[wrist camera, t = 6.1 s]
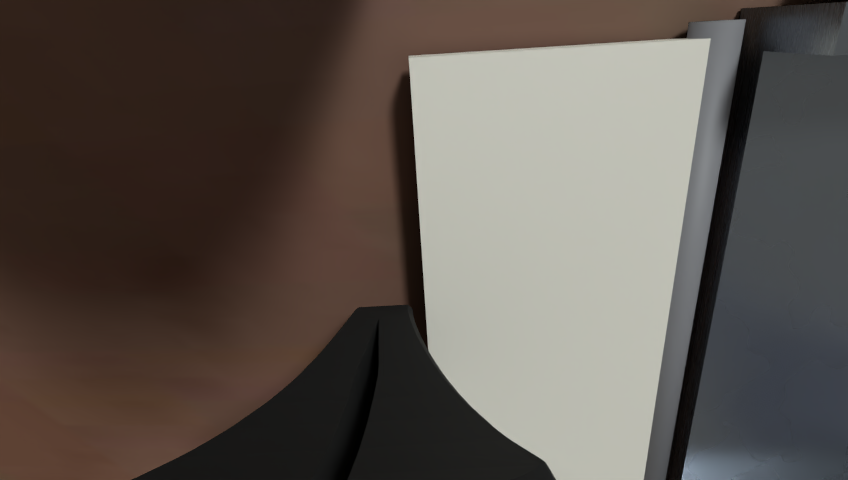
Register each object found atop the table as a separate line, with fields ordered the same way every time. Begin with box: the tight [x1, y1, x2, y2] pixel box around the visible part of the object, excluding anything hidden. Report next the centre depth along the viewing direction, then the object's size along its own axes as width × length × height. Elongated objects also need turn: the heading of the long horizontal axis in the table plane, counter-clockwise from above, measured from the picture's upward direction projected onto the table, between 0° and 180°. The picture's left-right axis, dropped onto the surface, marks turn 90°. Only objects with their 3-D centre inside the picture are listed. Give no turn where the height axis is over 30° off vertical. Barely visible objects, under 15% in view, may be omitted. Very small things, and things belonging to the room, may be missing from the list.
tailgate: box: [409, 19, 746, 480], centre depth 13 cm, size 14×1×7 cm
